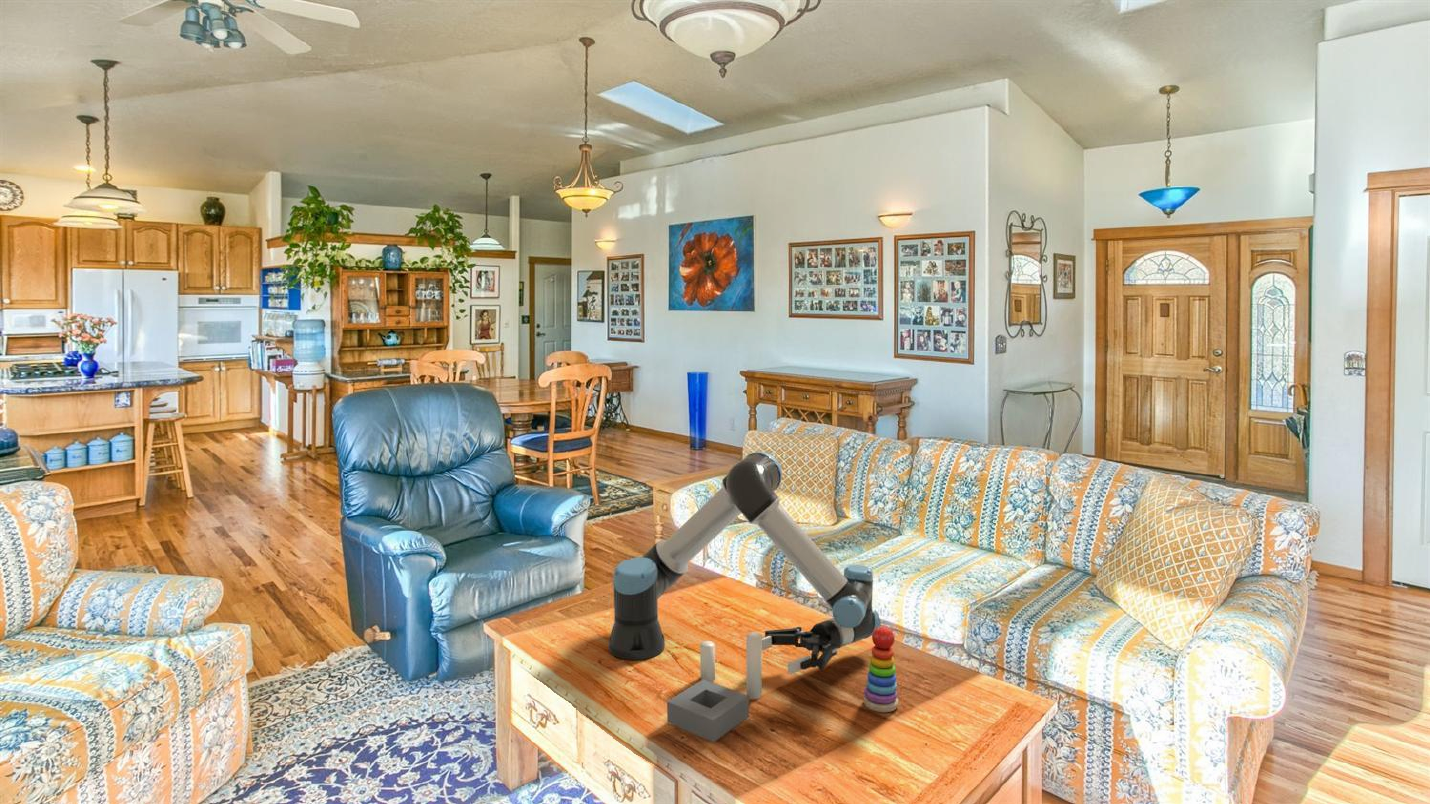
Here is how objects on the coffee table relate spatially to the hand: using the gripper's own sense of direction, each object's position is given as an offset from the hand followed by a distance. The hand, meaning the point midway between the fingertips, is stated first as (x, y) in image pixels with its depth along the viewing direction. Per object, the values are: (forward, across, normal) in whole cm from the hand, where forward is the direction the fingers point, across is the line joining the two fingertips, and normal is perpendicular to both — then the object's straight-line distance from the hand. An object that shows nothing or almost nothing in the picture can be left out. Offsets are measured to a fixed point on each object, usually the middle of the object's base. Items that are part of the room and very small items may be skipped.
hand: (769, 658), depth 188 cm
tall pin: (+4, +1, -8) cm, 9 cm away
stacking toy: (-16, -21, -8) cm, 28 cm away
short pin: (+8, +14, -8) cm, 18 cm away
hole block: (+19, -1, -8) cm, 21 cm away
